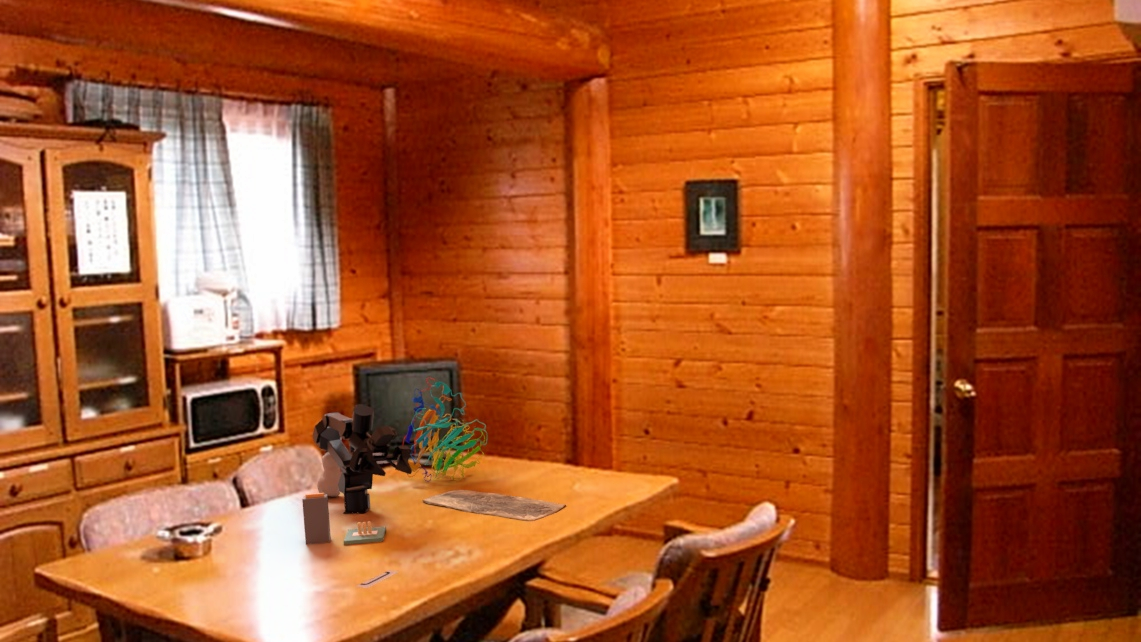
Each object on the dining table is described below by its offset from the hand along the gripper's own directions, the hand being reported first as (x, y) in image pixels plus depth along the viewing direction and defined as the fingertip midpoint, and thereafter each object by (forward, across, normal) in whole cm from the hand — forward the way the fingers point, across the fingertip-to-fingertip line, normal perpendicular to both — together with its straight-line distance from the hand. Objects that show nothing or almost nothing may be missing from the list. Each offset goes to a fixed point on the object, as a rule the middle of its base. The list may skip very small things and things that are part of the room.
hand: (398, 473), depth 275 cm
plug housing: (0, -19, +19) cm, 27 cm away
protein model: (-27, +48, +21) cm, 59 cm away
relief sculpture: (+10, +30, +7) cm, 33 cm away
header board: (+7, -10, +15) cm, 19 cm away
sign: (+24, -33, +11) cm, 43 cm away
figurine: (-38, +13, +31) cm, 50 cm away
